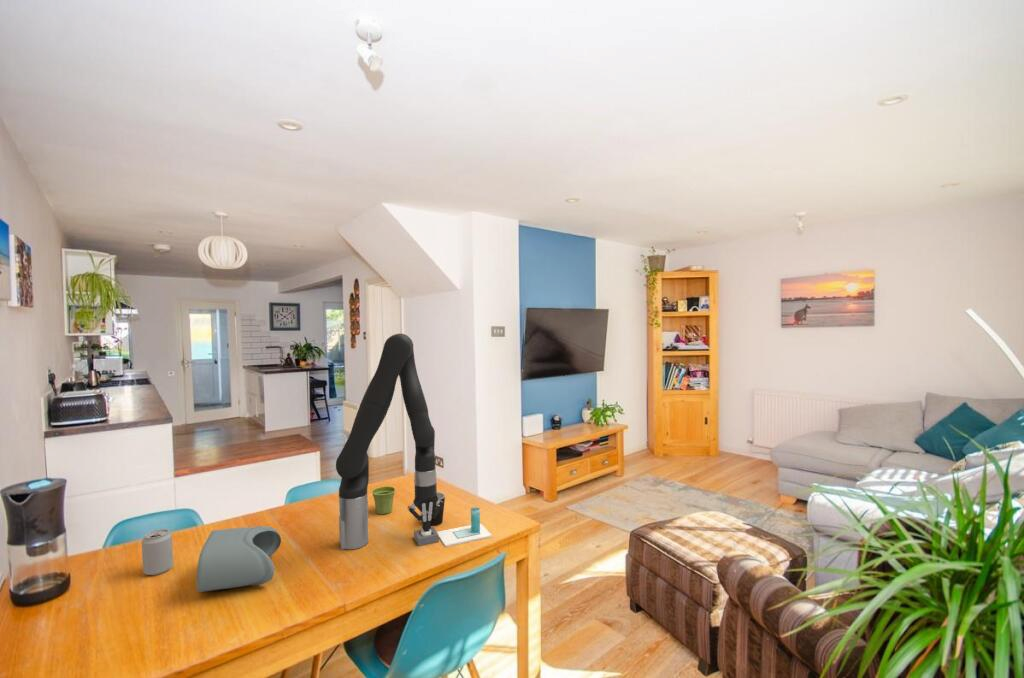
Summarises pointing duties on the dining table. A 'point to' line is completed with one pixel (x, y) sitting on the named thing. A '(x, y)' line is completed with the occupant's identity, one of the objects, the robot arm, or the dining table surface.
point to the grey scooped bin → (237, 558)
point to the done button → (425, 532)
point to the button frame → (426, 537)
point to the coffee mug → (439, 517)
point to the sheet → (462, 535)
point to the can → (157, 552)
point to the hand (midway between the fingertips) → (426, 530)
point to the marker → (475, 520)
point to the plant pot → (383, 499)
